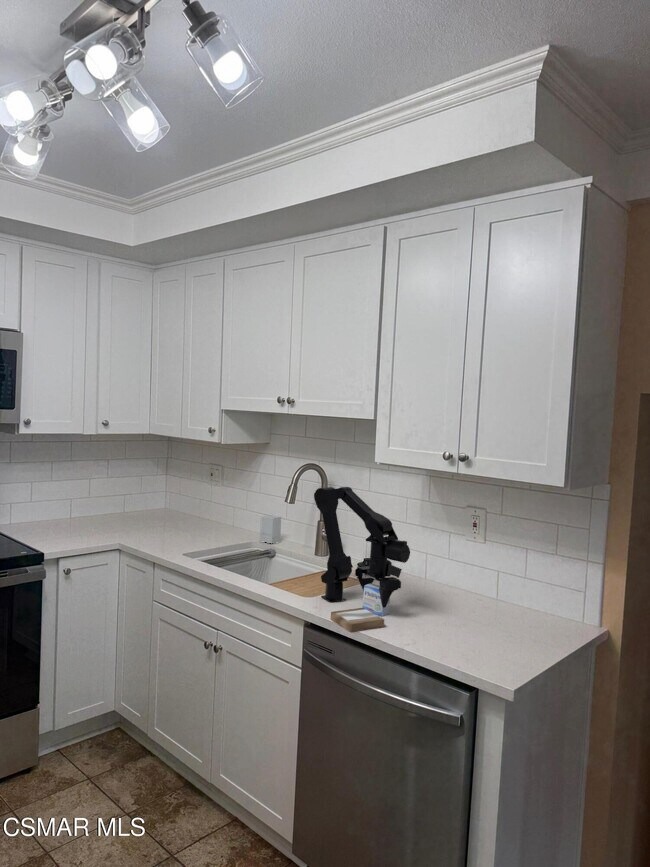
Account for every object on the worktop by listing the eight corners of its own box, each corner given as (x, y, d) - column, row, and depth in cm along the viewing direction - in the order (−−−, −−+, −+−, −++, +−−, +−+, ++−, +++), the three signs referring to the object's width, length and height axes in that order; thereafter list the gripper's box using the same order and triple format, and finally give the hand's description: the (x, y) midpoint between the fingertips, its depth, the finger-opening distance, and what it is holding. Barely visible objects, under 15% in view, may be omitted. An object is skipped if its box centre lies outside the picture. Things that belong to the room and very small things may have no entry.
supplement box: (280, 542, 308) (282, 516, 308) (271, 544, 302) (272, 518, 301) (268, 540, 312) (269, 514, 311) (259, 542, 306) (260, 516, 305)
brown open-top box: (330, 619, 200) (331, 610, 199) (362, 615, 206) (362, 606, 206) (351, 632, 189) (351, 623, 189) (383, 627, 195) (384, 618, 195)
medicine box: (361, 611, 210) (363, 585, 210) (369, 608, 214) (370, 582, 213) (381, 616, 205) (383, 590, 205) (389, 613, 209) (390, 587, 209)
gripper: (415, 561, 205) (412, 609, 206) (382, 548, 221) (379, 593, 222) (388, 564, 199) (384, 613, 200) (355, 550, 215) (352, 596, 216)
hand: (375, 603), depth 210 cm, fingers open, 9 cm apart
